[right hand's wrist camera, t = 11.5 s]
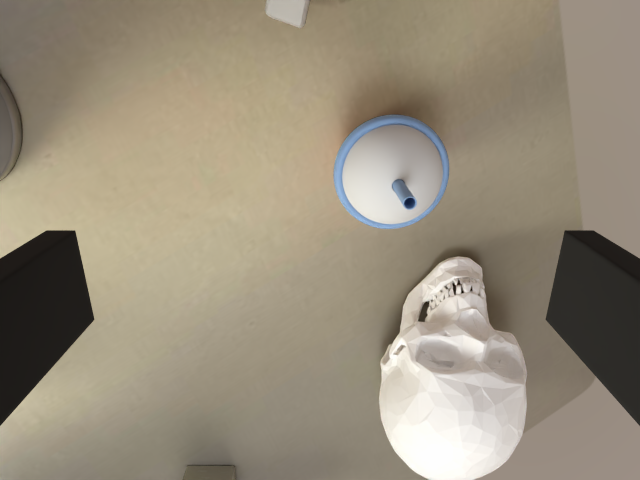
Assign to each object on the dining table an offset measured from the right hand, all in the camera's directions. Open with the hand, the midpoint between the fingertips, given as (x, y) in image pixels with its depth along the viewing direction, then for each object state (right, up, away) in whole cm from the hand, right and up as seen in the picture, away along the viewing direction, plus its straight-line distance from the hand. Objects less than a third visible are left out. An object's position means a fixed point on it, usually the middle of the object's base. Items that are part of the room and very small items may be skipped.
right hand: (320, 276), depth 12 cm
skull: (+14, -10, +40) cm, 44 cm away
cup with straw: (+6, +10, +33) cm, 34 cm away
